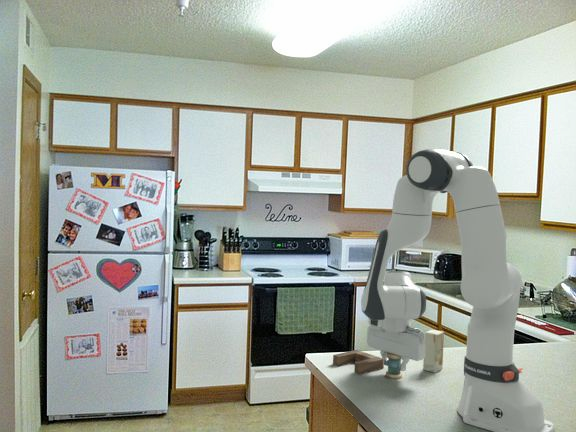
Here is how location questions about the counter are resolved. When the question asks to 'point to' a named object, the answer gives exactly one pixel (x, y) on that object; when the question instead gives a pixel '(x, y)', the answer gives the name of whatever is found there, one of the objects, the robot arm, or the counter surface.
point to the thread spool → (393, 366)
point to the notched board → (359, 361)
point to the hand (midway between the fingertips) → (394, 367)
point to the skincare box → (433, 350)
